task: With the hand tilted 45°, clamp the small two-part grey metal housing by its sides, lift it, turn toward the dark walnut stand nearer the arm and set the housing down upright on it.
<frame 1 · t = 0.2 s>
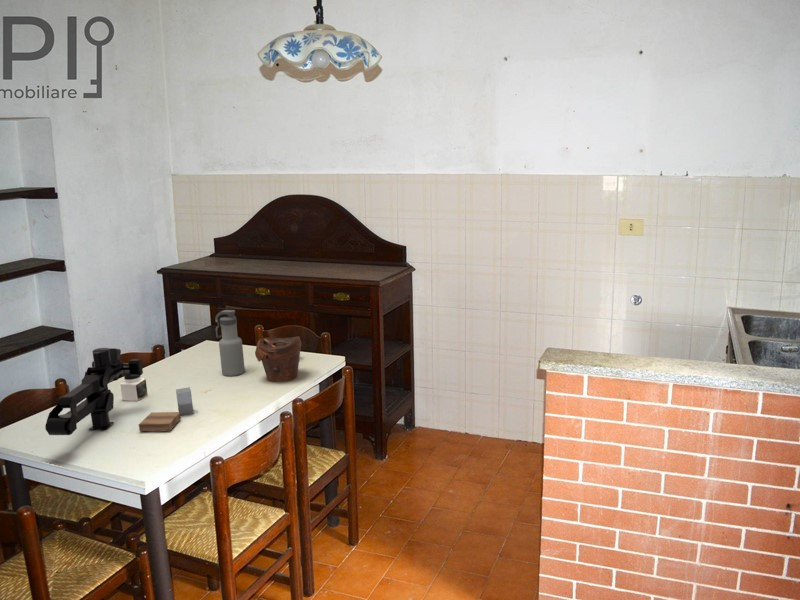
hand: (127, 361, 278), 17 cm above the table, tool horizontal, fingers open, 9 cm apart
medicine bottle: (135, 398, 285), on the table
walnut stand: (160, 425, 255), on the table
water bottle: (233, 373, 310), on the table
housing: (186, 412, 267), on the table
case: (281, 377, 302), on the table
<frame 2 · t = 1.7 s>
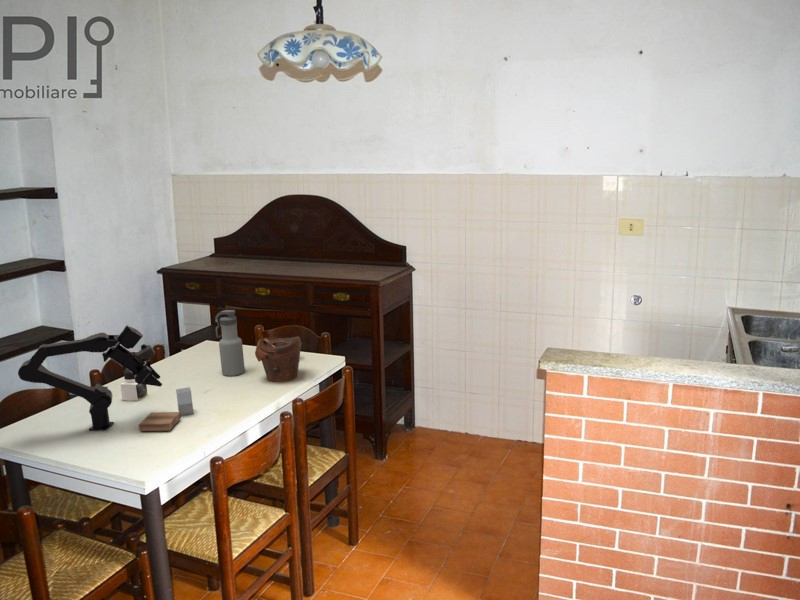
hand: (160, 381, 261), 14 cm above the table, tool tilted 45°, fingers open, 9 cm apart
nothing on the table moved.
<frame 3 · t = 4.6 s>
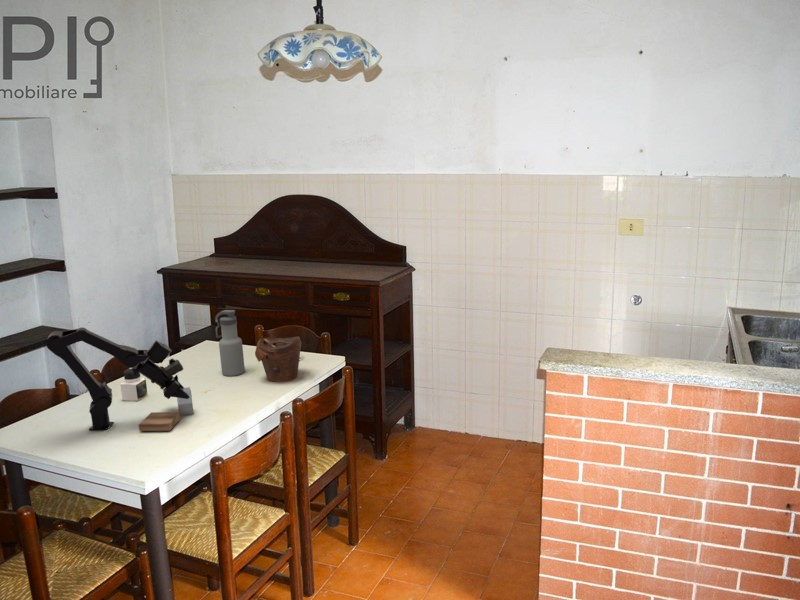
hand: (188, 395, 266), 7 cm above the table, tool tilted 45°, fingers closed on housing, 5 cm apart
housing: (186, 412, 267), on the table, touching gripper
everything else where it was.
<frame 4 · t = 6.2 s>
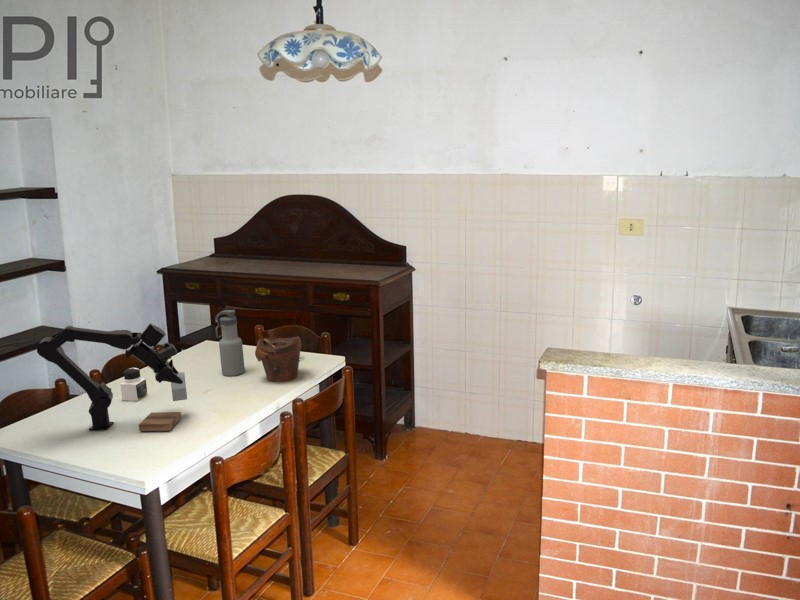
hand: (182, 380, 262), 13 cm above the table, tool tilted 45°, fingers closed on housing, 5 cm apart
housing: (179, 398, 263), point 7 cm above the table, touching gripper
everything else where it was.
when the fingers open (11 cm above the table, at t = 8.0 s): housing drops 1 cm, resting on walnut stand.
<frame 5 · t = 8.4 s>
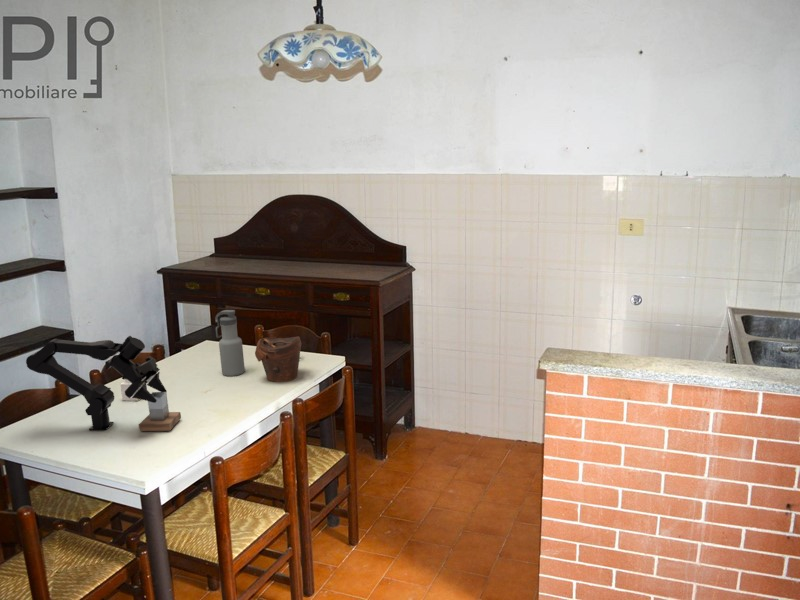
hand: (161, 397, 253), 11 cm above the table, tool tilted 45°, fingers open, 9 cm apart
housing: (159, 418, 255), point 3 cm above the table, touching walnut stand
everything else where it was.
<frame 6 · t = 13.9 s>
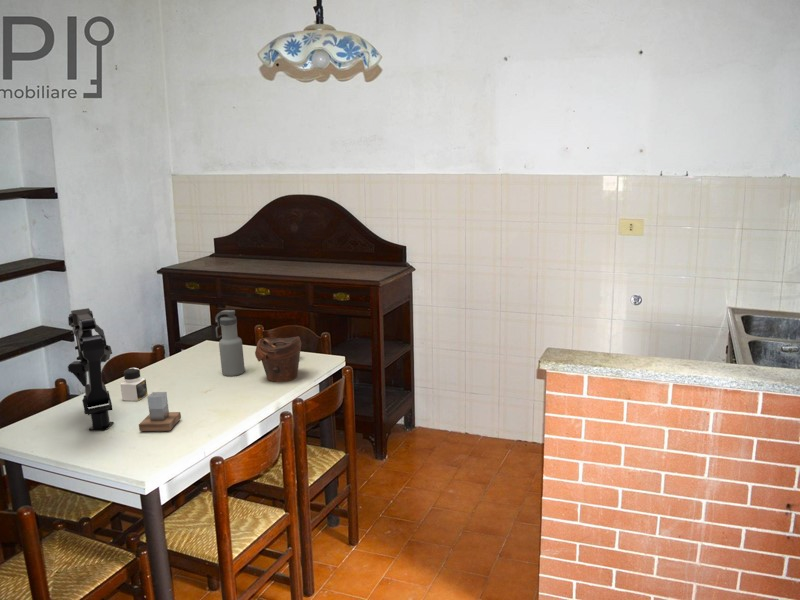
hand: (91, 382, 266), 13 cm above the table, tool pointing down, fingers open, 9 cm apart
nothing on the table moved.
at the end: housing 0.0 cm off-centre on the walnut stand, point 3.0 cm above the walnut stand's base; housing tilted 0°; the gripper is holding nothing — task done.
